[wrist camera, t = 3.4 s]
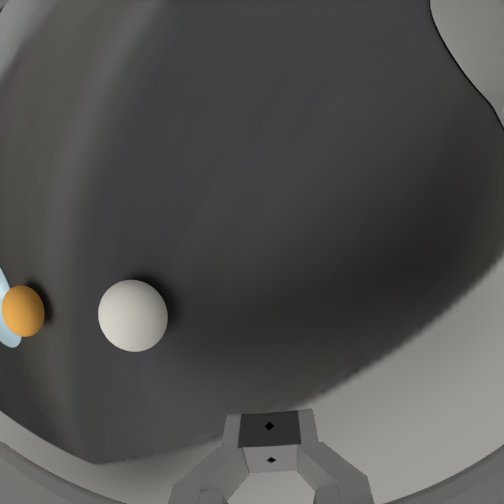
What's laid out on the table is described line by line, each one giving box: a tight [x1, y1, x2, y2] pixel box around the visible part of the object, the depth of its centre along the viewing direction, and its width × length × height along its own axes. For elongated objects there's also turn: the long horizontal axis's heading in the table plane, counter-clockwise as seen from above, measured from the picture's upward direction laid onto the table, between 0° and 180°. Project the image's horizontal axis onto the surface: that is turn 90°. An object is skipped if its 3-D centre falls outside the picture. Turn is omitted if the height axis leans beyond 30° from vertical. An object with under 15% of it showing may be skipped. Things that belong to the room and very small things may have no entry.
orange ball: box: [2, 285, 44, 337], centre depth 18 cm, size 5×5×5 cm
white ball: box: [98, 280, 168, 352], centre depth 17 cm, size 5×5×5 cm
